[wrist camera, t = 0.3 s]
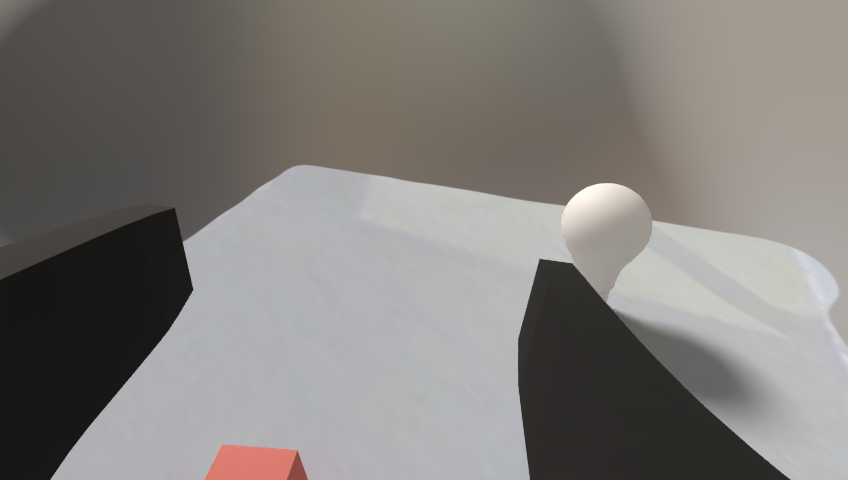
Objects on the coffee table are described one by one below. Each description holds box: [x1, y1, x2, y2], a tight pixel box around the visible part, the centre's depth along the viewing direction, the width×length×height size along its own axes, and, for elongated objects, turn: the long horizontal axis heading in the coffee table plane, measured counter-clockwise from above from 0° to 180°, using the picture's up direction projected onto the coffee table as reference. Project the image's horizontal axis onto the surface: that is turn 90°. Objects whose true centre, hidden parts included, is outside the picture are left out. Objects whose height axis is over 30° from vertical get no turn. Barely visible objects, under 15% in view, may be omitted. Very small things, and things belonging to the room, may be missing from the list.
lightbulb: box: [561, 183, 652, 302], centre depth 35 cm, size 6×6×11 cm
